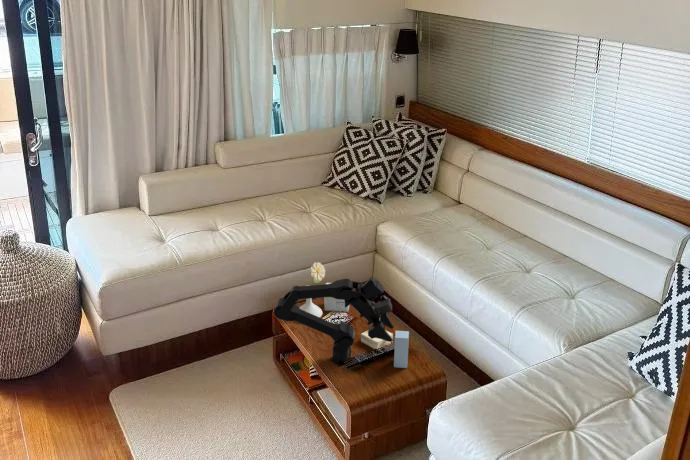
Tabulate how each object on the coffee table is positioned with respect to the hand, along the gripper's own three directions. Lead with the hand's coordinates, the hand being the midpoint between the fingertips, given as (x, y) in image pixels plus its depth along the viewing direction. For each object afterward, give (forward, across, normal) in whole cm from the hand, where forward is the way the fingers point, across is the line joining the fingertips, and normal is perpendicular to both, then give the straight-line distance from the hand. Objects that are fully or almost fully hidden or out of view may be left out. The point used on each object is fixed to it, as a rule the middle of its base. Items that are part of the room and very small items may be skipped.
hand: (392, 334), depth 253 cm
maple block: (+5, +14, +14) cm, 20 cm away
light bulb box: (-8, +39, +27) cm, 48 cm away
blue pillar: (+12, 0, +6) cm, 13 cm away
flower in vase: (-16, +31, +34) cm, 49 cm away
